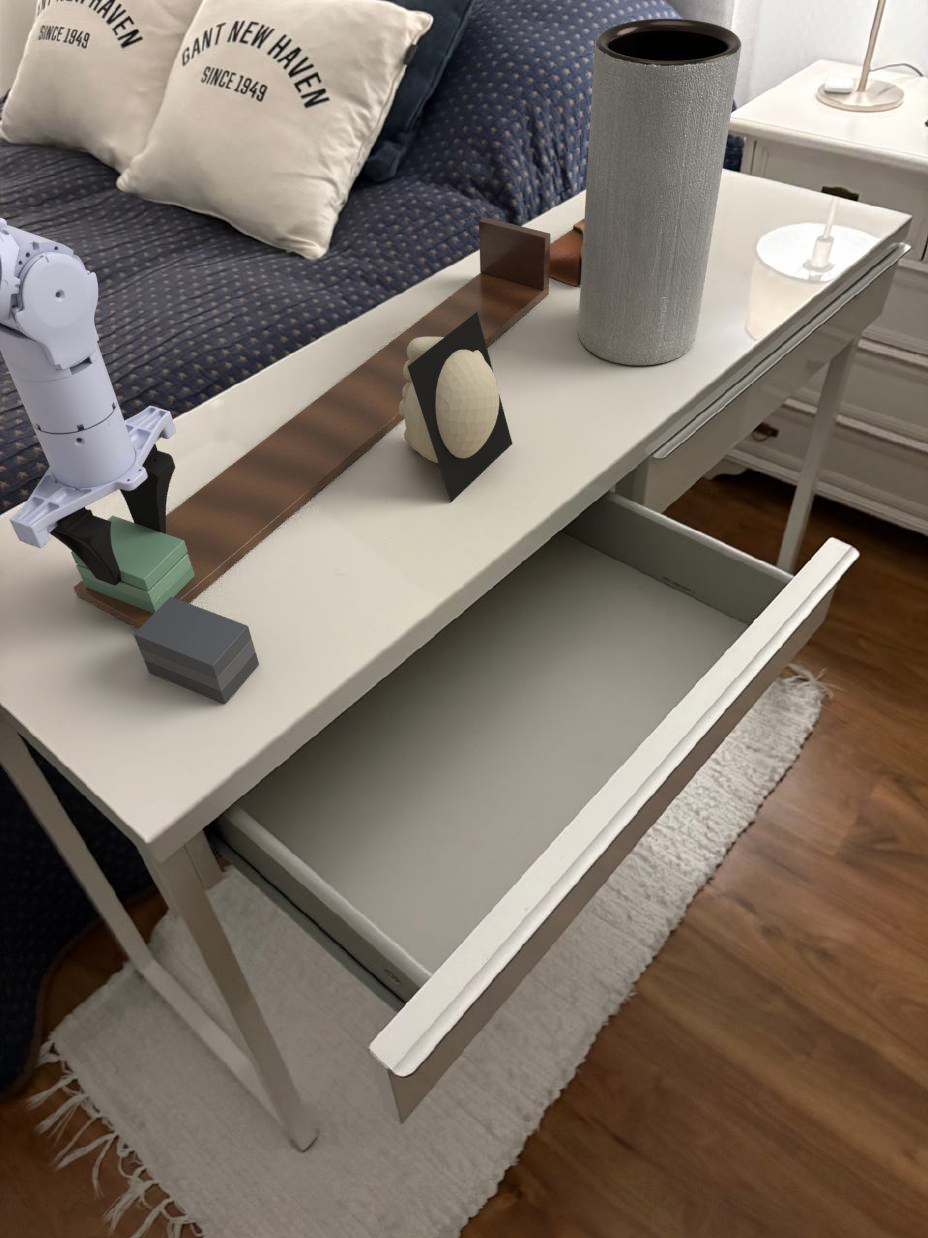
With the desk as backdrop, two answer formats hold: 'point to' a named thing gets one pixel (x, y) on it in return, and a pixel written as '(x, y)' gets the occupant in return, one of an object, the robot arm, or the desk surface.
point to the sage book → (142, 552)
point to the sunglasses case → (567, 256)
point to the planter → (653, 184)
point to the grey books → (197, 649)
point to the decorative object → (454, 404)
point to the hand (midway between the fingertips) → (131, 557)
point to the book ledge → (340, 421)
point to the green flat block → (141, 597)
